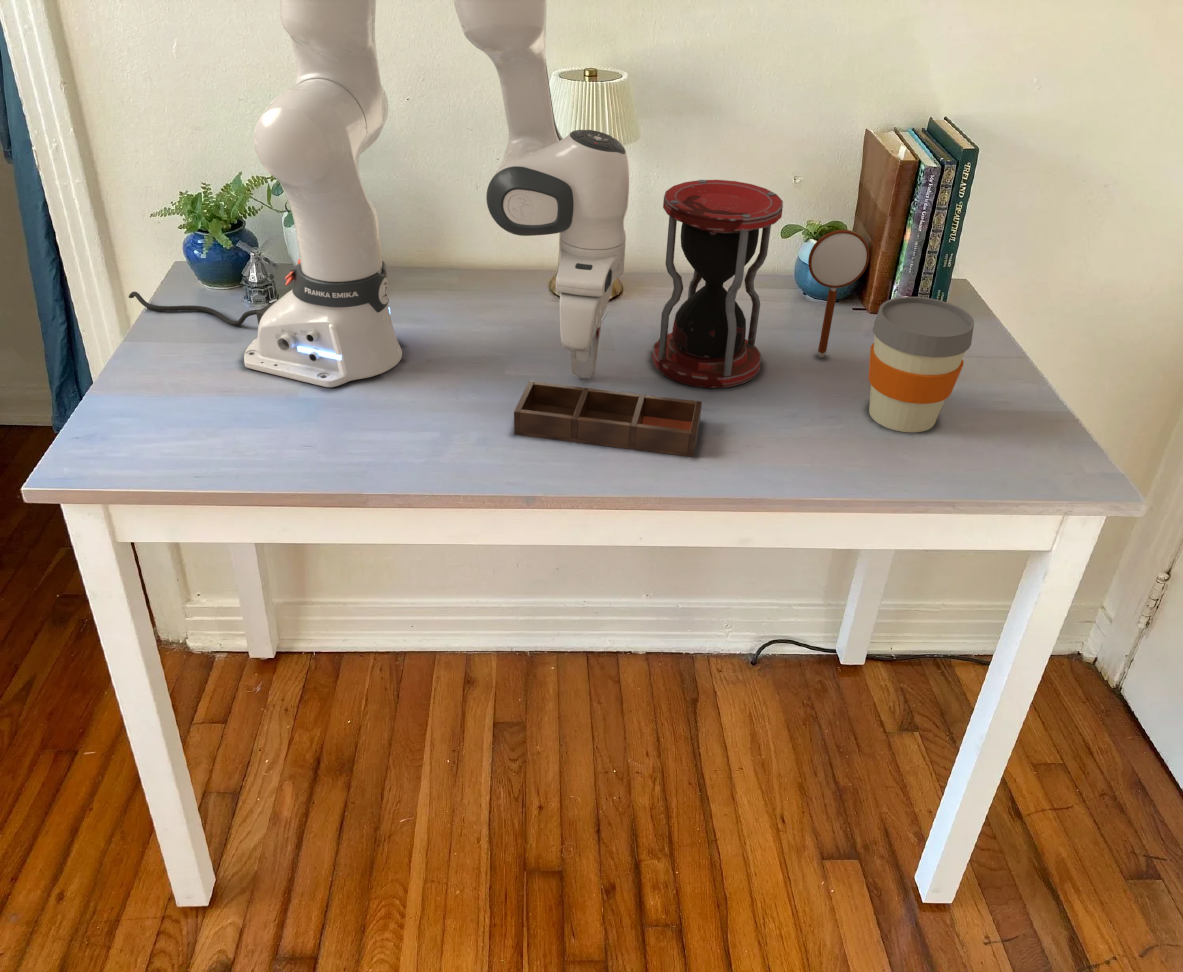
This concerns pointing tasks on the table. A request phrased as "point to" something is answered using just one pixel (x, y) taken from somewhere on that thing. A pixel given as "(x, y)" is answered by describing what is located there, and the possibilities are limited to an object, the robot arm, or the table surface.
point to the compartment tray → (608, 418)
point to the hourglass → (714, 281)
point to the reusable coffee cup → (915, 360)
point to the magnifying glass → (836, 269)
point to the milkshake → (588, 367)
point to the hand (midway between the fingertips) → (586, 350)
